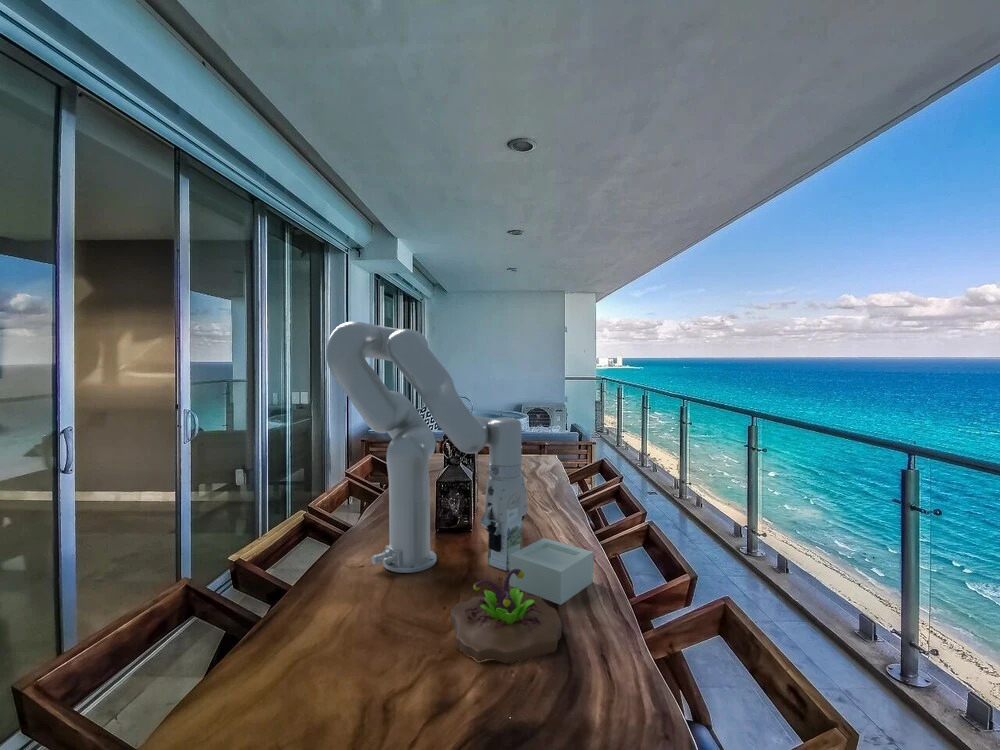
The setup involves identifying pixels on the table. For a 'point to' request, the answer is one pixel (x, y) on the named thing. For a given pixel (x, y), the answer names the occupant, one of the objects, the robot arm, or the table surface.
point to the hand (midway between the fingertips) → (504, 545)
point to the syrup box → (507, 540)
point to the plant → (505, 624)
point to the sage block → (552, 570)
